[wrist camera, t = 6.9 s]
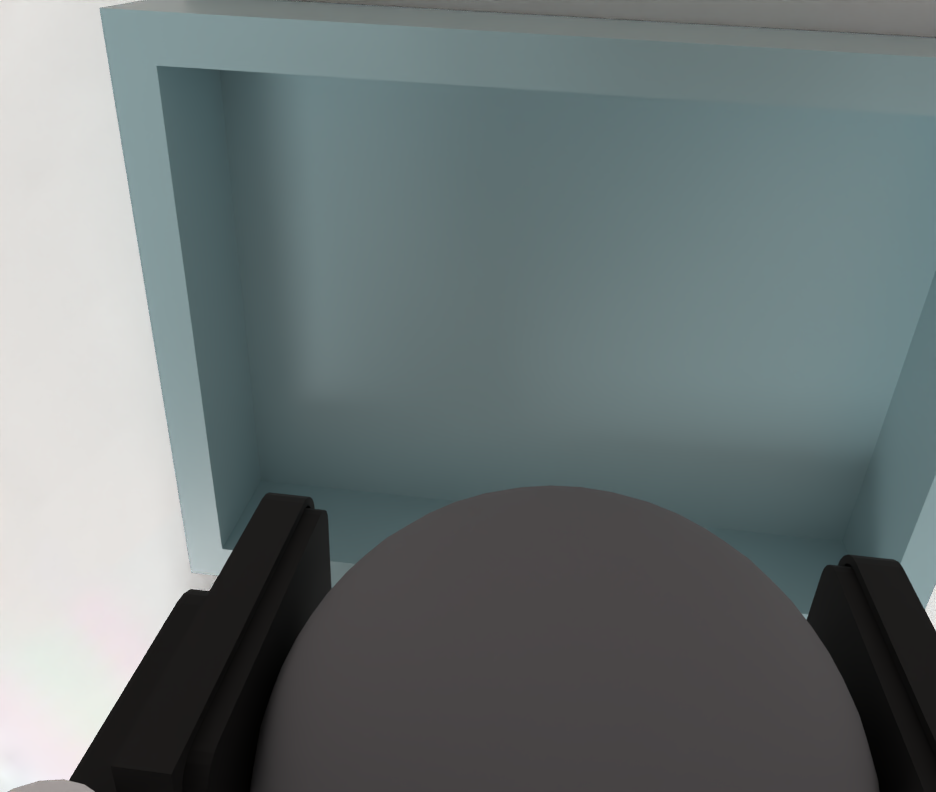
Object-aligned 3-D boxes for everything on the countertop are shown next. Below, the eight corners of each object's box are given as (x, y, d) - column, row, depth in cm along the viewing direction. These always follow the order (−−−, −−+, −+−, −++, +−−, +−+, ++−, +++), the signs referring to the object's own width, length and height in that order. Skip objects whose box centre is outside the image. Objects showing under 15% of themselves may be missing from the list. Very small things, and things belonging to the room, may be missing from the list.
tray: (83, -238, 14) (-30, -276, 11) (1224, -198, 12) (1393, -230, 10) (193, 489, 21) (140, 566, 19) (914, 565, 20) (964, 660, 17)
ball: (331, 360, 10) (48, 839, 5) (854, 410, 9) (1205, 1007, 4) (345, 710, 13) (181, 1244, 8) (743, 761, 12) (866, 1372, 7)
